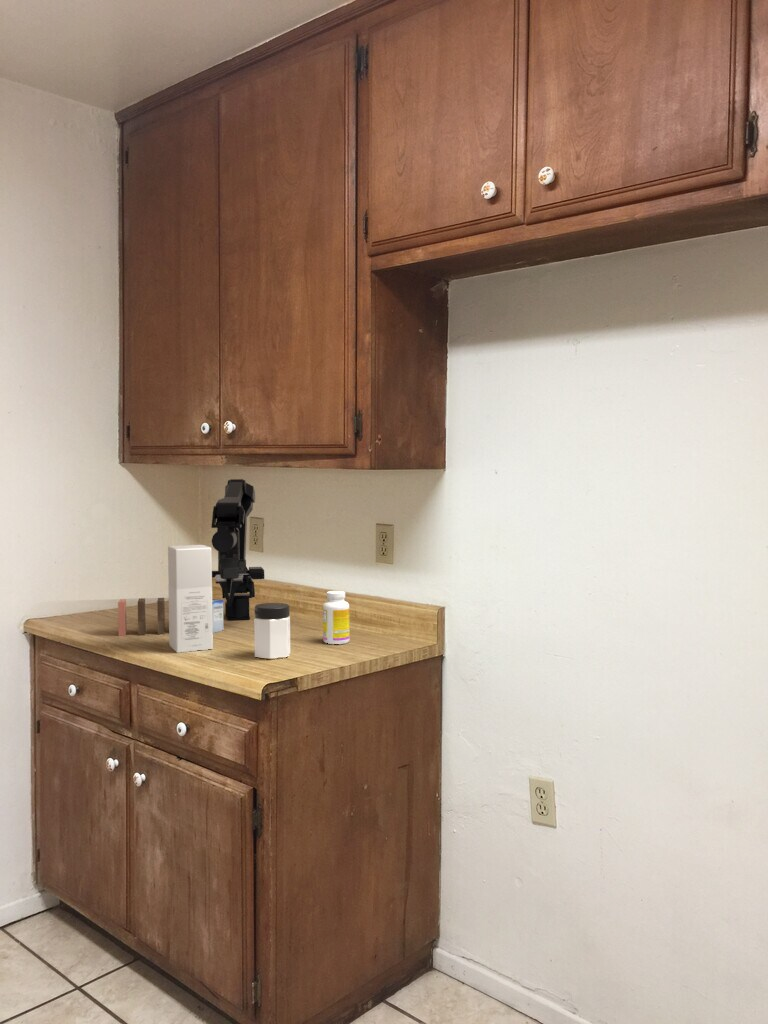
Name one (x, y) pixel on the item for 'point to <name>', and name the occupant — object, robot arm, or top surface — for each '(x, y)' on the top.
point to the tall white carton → (190, 598)
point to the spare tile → (122, 617)
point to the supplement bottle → (336, 619)
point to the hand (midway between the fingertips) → (229, 605)
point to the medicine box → (217, 615)
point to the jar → (272, 630)
